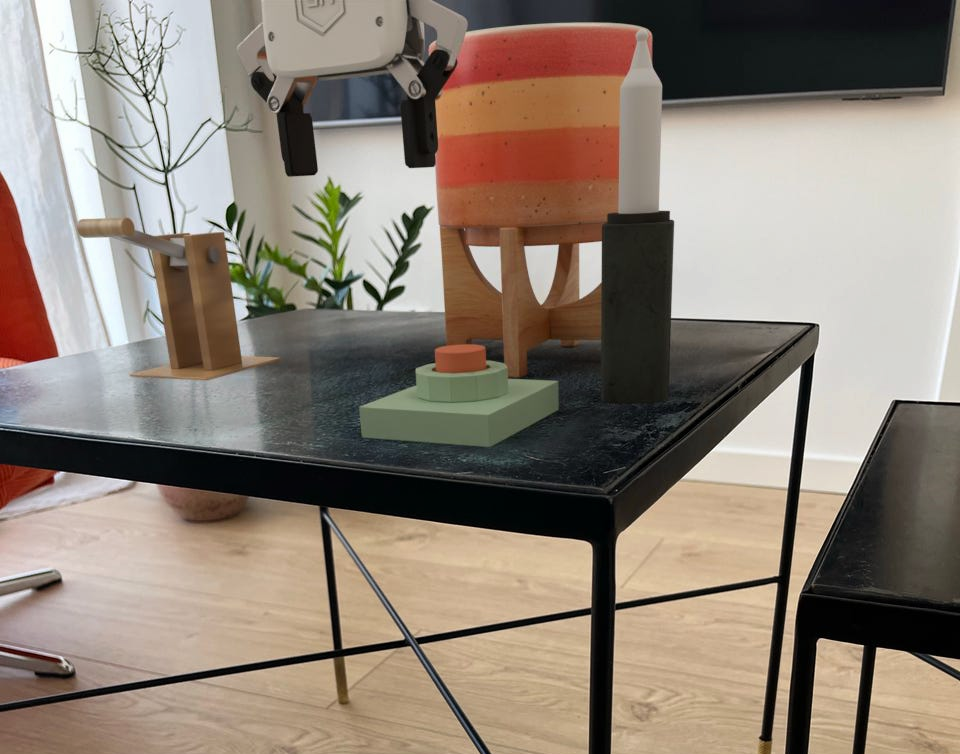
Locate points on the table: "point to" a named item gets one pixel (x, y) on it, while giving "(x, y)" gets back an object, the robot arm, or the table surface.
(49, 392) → the table surface
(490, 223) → the planter
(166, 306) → the bracket
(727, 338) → the table surface
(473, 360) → the button
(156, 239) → the lever
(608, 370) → the candle
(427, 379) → the button box
